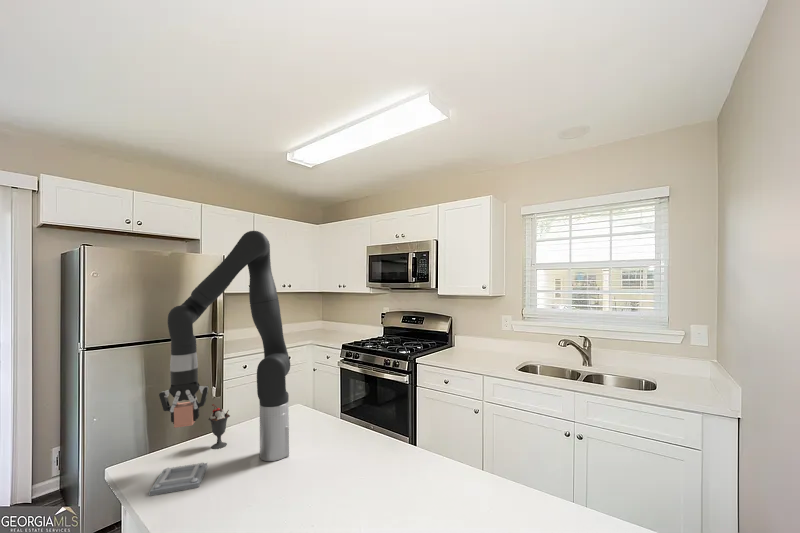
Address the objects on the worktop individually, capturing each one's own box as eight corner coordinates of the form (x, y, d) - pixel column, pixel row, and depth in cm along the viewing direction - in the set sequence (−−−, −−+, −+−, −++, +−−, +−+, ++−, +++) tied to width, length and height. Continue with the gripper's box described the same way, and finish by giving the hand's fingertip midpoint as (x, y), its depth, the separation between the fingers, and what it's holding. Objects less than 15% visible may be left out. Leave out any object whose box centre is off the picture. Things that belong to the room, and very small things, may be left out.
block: (196, 419, 119) (195, 401, 119) (192, 425, 114) (192, 405, 114) (178, 422, 117) (178, 403, 117) (174, 427, 112) (173, 408, 113)
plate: (207, 466, 114) (207, 459, 115) (198, 487, 103) (198, 479, 103) (163, 473, 111) (163, 466, 111) (149, 495, 99) (149, 487, 99)
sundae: (203, 448, 127) (203, 405, 128) (219, 440, 133) (219, 399, 134) (217, 451, 125) (217, 407, 125) (233, 443, 131) (233, 401, 131)
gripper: (211, 362, 122) (212, 414, 121) (162, 367, 118) (162, 421, 117) (206, 367, 115) (208, 422, 114) (154, 373, 110) (155, 429, 110)
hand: (185, 421), depth 116 cm, fingers closed on block, 5 cm apart
